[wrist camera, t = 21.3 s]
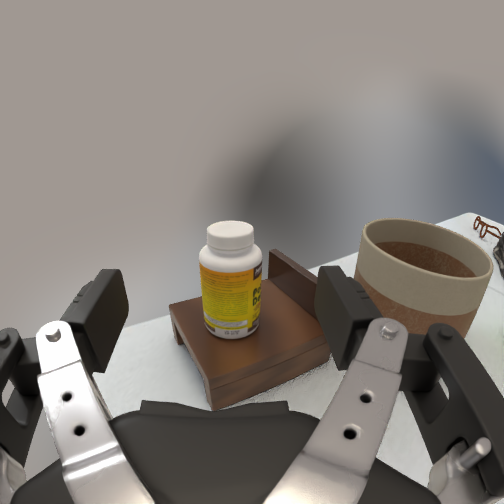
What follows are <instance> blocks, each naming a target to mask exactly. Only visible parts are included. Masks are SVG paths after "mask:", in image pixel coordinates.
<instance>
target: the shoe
mask: <svg viewBox="0 0 504 504" xmlns="http://www.w3.org/2000/svg"><path fill="white" fill-rule="evenodd" d="M493 253H494V256H495V257H496V259H497V261H498V262H499V264H500V271H501V274H502V276H503V277H504V232H503V233H502V236H501V238H500V239H499V241H498V244H497V246H496V247H495V248H494V250H493Z"/></svg>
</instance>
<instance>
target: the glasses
mask: <svg viewBox="0 0 504 504" xmlns="http://www.w3.org/2000/svg"><path fill="white" fill-rule="evenodd" d="M478 218H479V219H478ZM476 221H479V223H478V225H477V227H476V228H475V223H476ZM482 223H483V224H482ZM479 224H481V225H482V228H481V230H480V237H481V238H483V237H484V236H485V234H486V232H488V233H490V234H492V235H493V236H495V237H497V238H499V239H500V238H501V237H499V236H497V235H496V234H494V233H492V232H490V231H489V230H487V229H488V227H490V228H495V229H497V230H498V232H499V234H500V236H501V233H500V231H499V229H498V228H497V227H494V226H490V225H488V224H486V223H484V222H483V221H481V218H480V216H477V218H476V219H475V222H474V229H475V230H476V229H477V228H478V226H479ZM485 225H486V230H485V233H484V235H483V236H482V235H481V232H482V229H483V227H484V226H485Z"/></svg>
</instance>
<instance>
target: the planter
mask: <svg viewBox="0 0 504 504" xmlns="http://www.w3.org/2000/svg"><path fill="white" fill-rule="evenodd" d="M492 272H493V263H492V260H491V259H490V257H489V256H488V254H487V253H486V252H485V251H484V250H483V249H482V248H481V247H479V246H478V245H477V244H475V243H474V242H472V241H471V240H469V239H468V238H466V237H464V236H462V235H460V234H458V233H456V232H453V231H451V230H449V229H446V228H443V227H440V226H437V225H434V224H430V223H426V222H422V221H417V220H410V219H401V218H384V219H378V220H374V221H371V222H369V223H368V224H366V225H365V226H364V228H363V231H362V236H361V242H360V248H359V254H358V259H357V264H356V270H355V275H354V279H355V280H356V281H357V282H359V283H360V284H361V285H362V287H363V288H364V289H365V292H367V294H368V295H369V297H370V299H372V301H373V302H374V304H375V305H376V307H377V308H378V310H379V311H380V313H381V314H382V316H383V317H384V318H390V319H394V320H396V321H398V322H400V323H401V324H403V325H404V326H405V327H406V329H407V331H408V333H413V334H424V335H426V333H427V331H428V329H429V327H430V325H432V324H434V323H445V324H448V325H450V326H452V327H453V328H455V329H456V330H457V331H458V332H459V333H460V335H461V336H462V337H463V339H464V338H465V336H466V334H467V332H468V330H469V328H470V326H471V324H472V322H473V319H474V317H475V315H476V313H477V310H478V308H479V306H480V303H481V301H482V299H483V296H484V294H485V291H486V289H487V286H488V283H489V281H490V278H491V275H492Z"/></svg>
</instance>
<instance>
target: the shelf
mask: <svg viewBox="0 0 504 504" xmlns="http://www.w3.org/2000/svg"><path fill="white" fill-rule="evenodd" d="M317 279H318V277H316V276H315V275H313V274H312V273H311V272H309V271H308V270H306V269H304V268H303V267H302V266H300V265H299V264H297V263H296V262H294V261H293V260H291V259H290V258H288V257H287V256H286V255H284V254H283V253H281V252H280V251H278V250H277V249H273V250H269V268H268V279H265V280H261V300H260V321H259V325H258V327H257V328H256V330H255V331H254V332H252V333H251V334H250V335H248V336H246V337H242V338H238V339H225V338H221V337H218V336H216V335H214V334H212V333H211V332H210V331H209V330H208V329H207V327H206V325H205V321H204V311H203V301H202V296H201V297H198V298H194V299H190V300H186V301H182V302H178V303H174V304H170V305H169V310H170V315H171V321H172V326H173V332H174V337H175V339H176V341H177V343H178V345H179V344H183V343H185V345H186V347H187V349H188V351H189V353H190V355H191V357H192V359H193V361H194V362H195V364H196V366H197V368H198V370H199V372H200V373H201V375H202V377H203V379H204V386H205V392H206V397H207V401H208V403H209V405H210V407H211V409H212V410H213V411H215V410H218V409H221V408H223V407H226V406H229V405H231V404H234V403H237V402H239V401H242V400H244V399H247V398H249V397H252V396H254V395H257V394H259V393H261V392H264V391H266V390H268V389H271V388H273V387H275V386H277V385H280V384H282V383H284V382H286V381H288V380H291V379H293V378H295V377H297V376H299V375H301V374H303V373H305V372H307V371H309V370H311V369H313V368H315V367H317V366H319V365H321V364H323V363H325V362H327V361H328V360H329V356H330V352H331V351H330V348H329V346H328V343H327V340H326V338H325V335H324V333H323V330H322V328H321V326H320V323H319V321H318V318H317V316H316V313H315V308H314V298H315V292H316V285H317Z"/></svg>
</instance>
